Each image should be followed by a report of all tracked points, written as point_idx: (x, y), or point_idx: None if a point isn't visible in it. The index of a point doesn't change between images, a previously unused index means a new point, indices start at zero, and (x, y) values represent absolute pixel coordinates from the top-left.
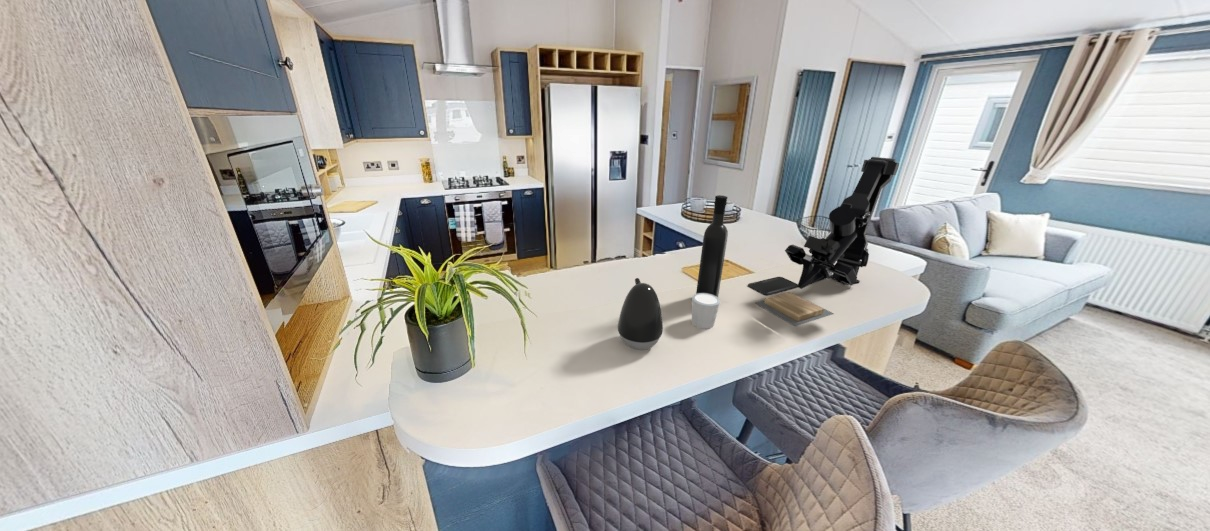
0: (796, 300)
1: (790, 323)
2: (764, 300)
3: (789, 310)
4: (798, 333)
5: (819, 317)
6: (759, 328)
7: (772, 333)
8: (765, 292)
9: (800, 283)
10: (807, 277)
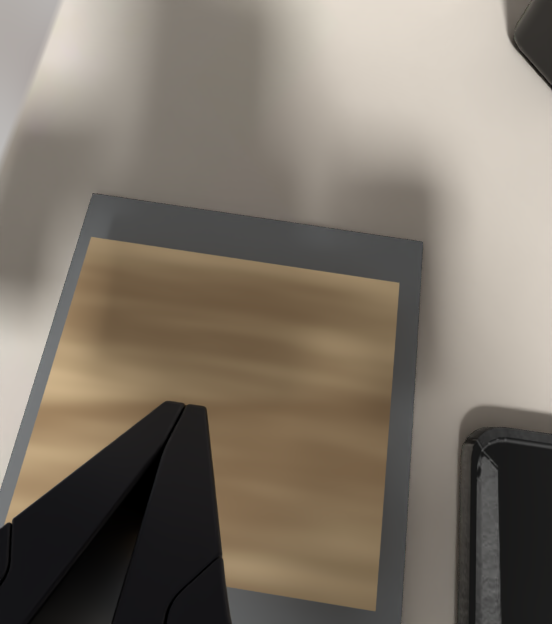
0: (235, 480)
1: (126, 198)
2: (415, 335)
3: (179, 264)
4: (51, 155)
5: (24, 446)
6: (215, 44)
7: (146, 55)
8: (506, 458)
9: (175, 426)
10: (66, 515)
